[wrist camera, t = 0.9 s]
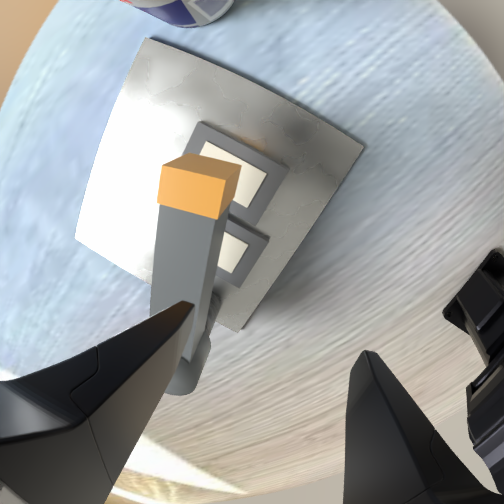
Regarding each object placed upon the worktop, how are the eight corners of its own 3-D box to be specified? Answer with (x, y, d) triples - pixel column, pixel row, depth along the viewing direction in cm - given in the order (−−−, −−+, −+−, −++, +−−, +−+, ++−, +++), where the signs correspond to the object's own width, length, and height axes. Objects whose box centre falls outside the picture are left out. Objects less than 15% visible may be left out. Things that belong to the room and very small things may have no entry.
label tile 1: (289, 169, 18) (288, 171, 18) (256, 223, 20) (255, 227, 20) (200, 121, 18) (197, 121, 17) (174, 177, 20) (170, 179, 19)
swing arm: (207, 365, 20) (193, 402, 18) (156, 348, 21) (137, 382, 18) (252, 167, 14) (238, 184, 12) (179, 150, 15) (149, 163, 12)
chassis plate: (362, 145, 17) (379, 157, 13) (236, 333, 25) (224, 372, 21) (147, 38, 16) (111, 26, 12) (77, 239, 23) (43, 264, 20)
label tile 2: (269, 239, 20) (268, 243, 20) (240, 284, 22) (239, 289, 22) (186, 193, 20) (183, 195, 19) (164, 242, 22) (161, 245, 21)
